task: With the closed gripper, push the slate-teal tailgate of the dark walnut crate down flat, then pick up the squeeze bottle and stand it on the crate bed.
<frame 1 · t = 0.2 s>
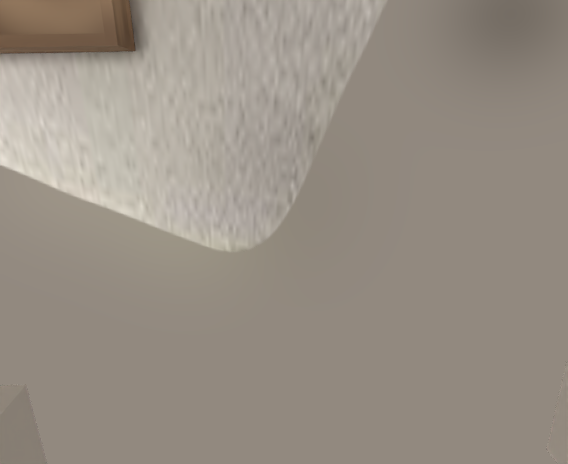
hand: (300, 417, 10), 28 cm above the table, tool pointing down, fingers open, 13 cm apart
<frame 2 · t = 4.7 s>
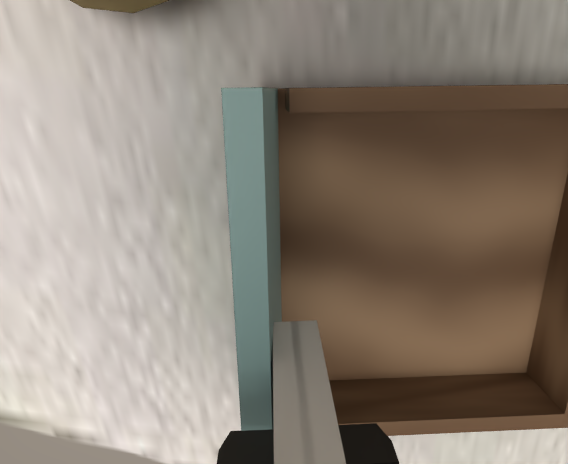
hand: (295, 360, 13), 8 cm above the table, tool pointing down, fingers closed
tailgate: (266, 314, 15), point 6 cm above the table, hinge at 3.6°, touching gripper
crate: (409, 249, 21), on the table
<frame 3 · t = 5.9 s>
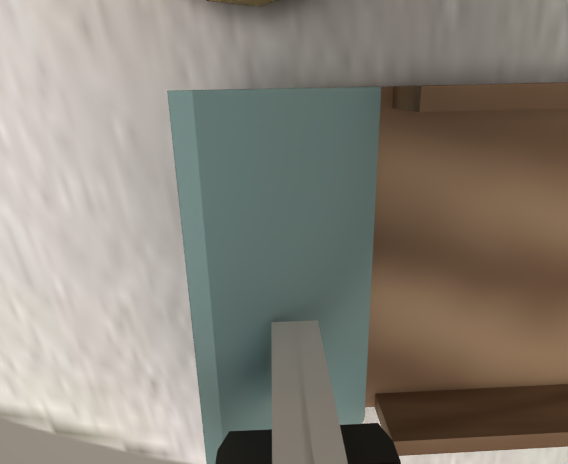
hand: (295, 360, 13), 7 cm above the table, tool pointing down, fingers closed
tailgate: (303, 318, 15), point 5 cm above the table, hinge at 39.9°, touching gripper
crate: (504, 254, 20), on the table
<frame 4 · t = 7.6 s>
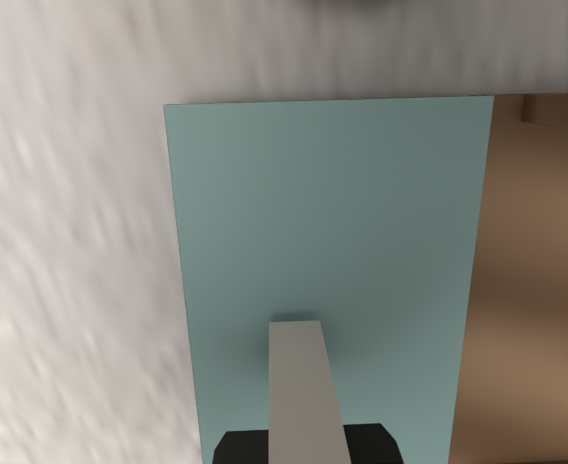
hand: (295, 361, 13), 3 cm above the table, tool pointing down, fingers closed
tailgate: (329, 339, 14), point 2 cm above the table, hinge at 85.2°
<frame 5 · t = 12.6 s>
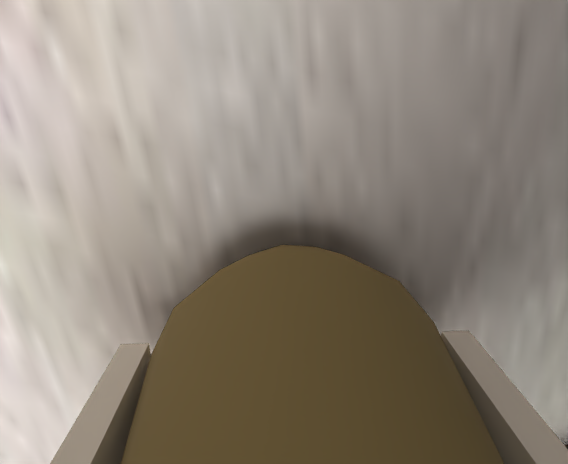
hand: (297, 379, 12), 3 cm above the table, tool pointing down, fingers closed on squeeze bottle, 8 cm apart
squeeze bottle: (291, 316, 15), on the table, touching gripper
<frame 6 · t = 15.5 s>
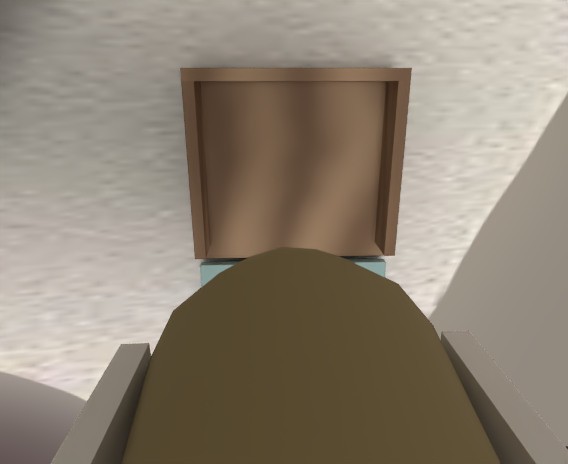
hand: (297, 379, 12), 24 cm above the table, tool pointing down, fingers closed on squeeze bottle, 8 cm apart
tailgate: (293, 312, 36), point 2 cm above the table, hinge at 85.2°
crate: (292, 167, 33), on the table
squeeze bottle: (290, 318, 15), point 20 cm above the table, touching gripper
when the fingers open (6 cm above the table, at t = 18.9 s): squeeze bottle drops 1 cm, resting on crate.
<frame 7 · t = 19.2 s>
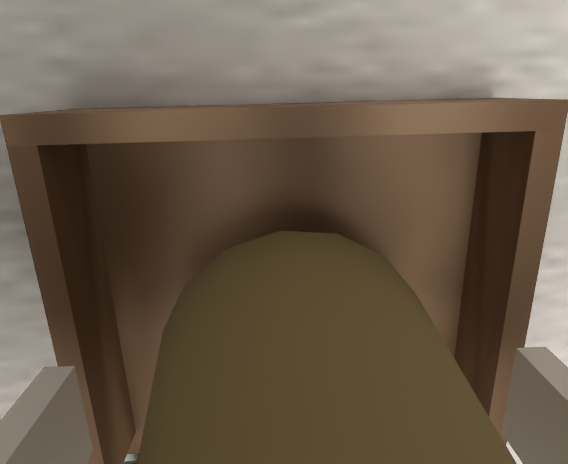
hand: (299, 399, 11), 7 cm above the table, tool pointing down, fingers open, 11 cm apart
crate: (288, 288, 17), on the table
squeeze bottle: (286, 299, 16), point 1 cm above the table, touching crate
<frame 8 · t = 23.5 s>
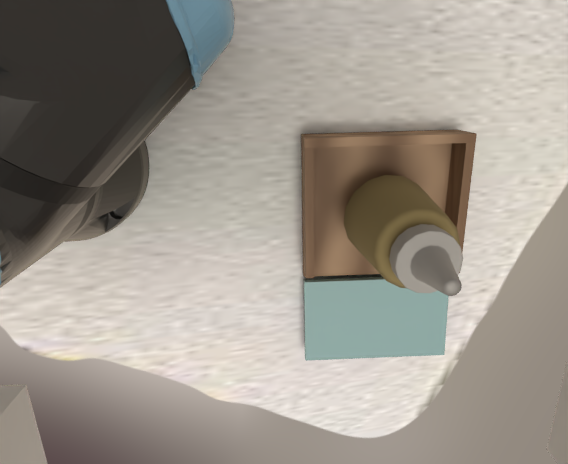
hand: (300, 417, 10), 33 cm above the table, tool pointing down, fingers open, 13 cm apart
tailgate: (375, 317, 45), point 2 cm above the table, hinge at 85.2°
crate: (376, 204, 43), on the table
squeeze bottle: (377, 207, 42), point 1 cm above the table, touching crate
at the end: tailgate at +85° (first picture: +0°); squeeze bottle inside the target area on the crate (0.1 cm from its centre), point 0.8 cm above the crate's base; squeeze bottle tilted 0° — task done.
